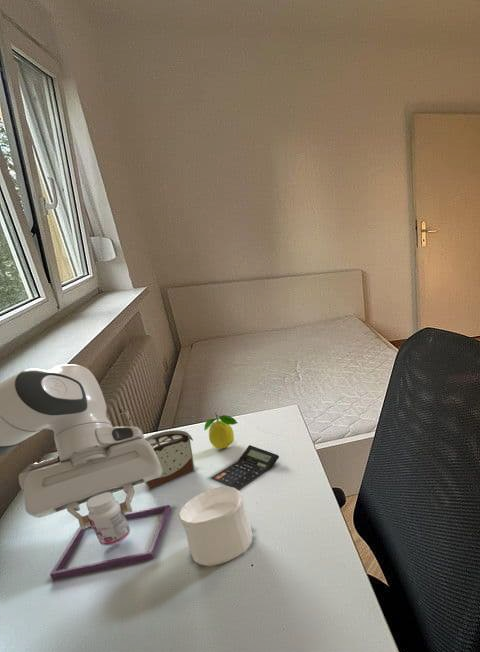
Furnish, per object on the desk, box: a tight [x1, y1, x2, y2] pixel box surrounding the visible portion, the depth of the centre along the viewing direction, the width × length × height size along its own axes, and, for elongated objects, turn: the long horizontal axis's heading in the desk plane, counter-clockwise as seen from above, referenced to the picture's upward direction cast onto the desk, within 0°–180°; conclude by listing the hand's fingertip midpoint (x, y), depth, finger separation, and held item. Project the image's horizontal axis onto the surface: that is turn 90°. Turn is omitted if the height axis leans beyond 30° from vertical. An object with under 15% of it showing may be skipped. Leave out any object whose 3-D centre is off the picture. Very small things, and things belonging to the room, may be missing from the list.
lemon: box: [204, 412, 238, 449], centre depth 107 cm, size 7×6×10 cm
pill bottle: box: [85, 492, 131, 547], centre depth 77 cm, size 5×5×8 cm
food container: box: [144, 429, 196, 491], centre depth 96 cm, size 12×6×10 cm, turn 134°
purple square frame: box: [49, 504, 172, 581], centre depth 79 cm, size 15×13×2 cm
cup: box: [178, 486, 253, 567], centre depth 75 cm, size 10×10×10 cm
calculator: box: [210, 444, 280, 491], centre depth 98 cm, size 9×12×3 cm
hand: (107, 519), depth 77 cm, fingers closed on pill bottle, 5 cm apart
